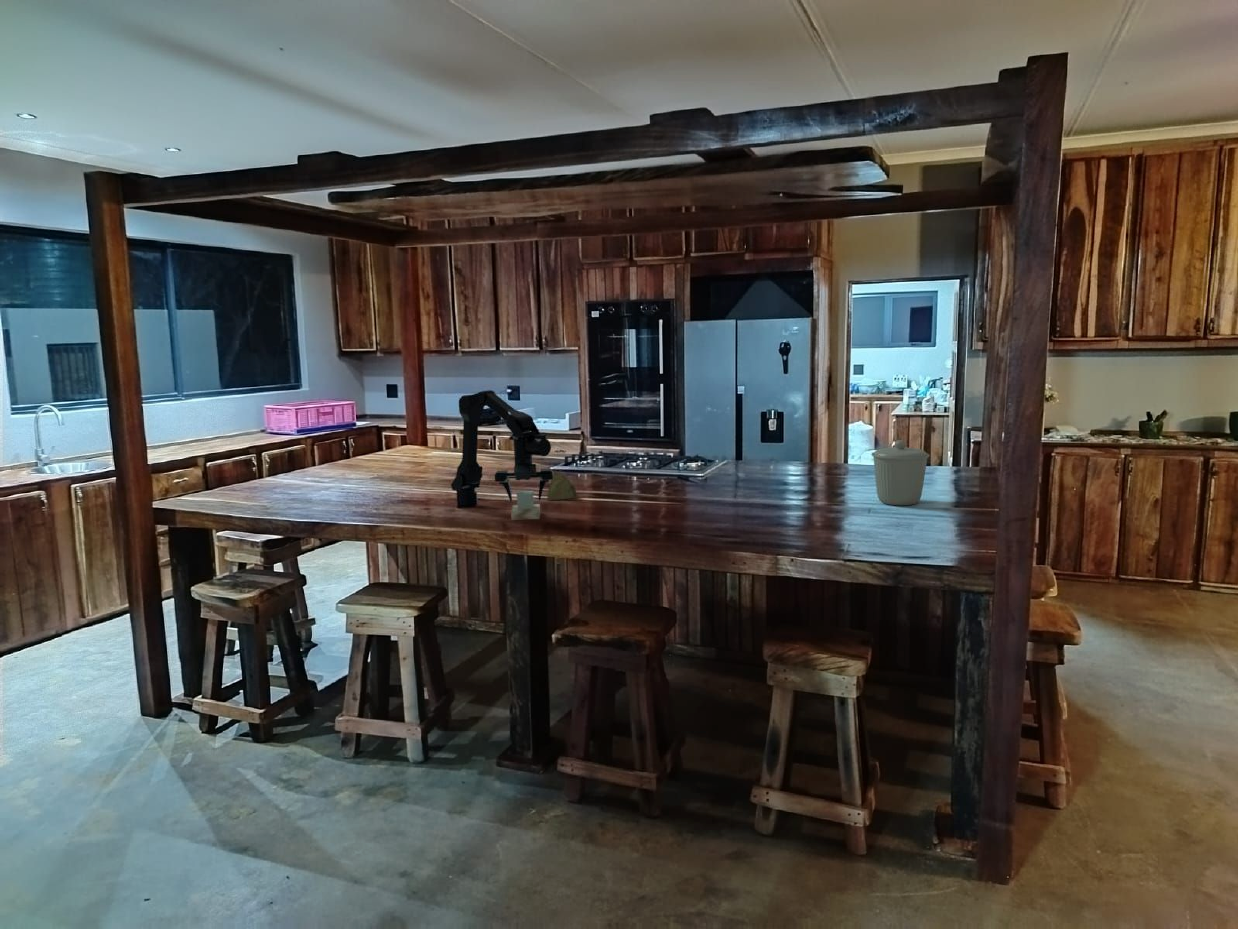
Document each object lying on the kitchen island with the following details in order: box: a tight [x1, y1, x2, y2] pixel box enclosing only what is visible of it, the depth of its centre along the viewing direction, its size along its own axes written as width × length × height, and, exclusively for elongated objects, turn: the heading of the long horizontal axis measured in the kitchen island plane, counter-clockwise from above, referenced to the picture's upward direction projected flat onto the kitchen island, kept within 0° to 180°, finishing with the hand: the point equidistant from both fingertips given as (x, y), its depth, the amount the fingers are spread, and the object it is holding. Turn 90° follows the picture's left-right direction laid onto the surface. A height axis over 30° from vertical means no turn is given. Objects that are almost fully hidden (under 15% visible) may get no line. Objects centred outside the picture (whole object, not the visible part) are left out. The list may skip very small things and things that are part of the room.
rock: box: [546, 471, 579, 501], centre depth 293 cm, size 11×9×10 cm
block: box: [516, 490, 535, 509], centre depth 266 cm, size 5×5×5 cm
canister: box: [870, 439, 930, 507], centre depth 268 cm, size 18×18×21 cm
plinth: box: [510, 503, 541, 521], centre depth 266 cm, size 9×9×3 cm
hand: (525, 500), depth 266 cm, fingers open, 9 cm apart
